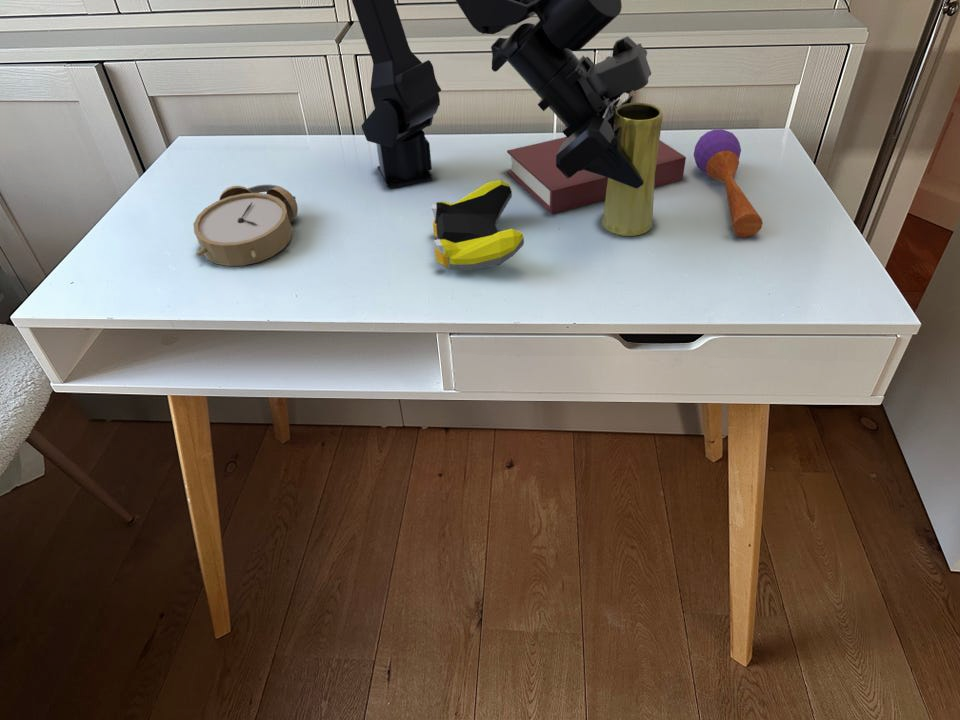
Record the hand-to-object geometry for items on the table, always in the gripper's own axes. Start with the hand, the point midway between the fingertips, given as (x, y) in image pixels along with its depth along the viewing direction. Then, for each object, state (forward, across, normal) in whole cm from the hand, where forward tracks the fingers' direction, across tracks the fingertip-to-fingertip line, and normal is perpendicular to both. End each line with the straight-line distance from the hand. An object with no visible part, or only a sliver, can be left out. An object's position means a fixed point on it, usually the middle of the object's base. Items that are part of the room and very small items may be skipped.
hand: (644, 174), depth 84 cm
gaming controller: (-8, -10, +18) cm, 22 cm away
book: (-1, +12, +10) cm, 16 cm away
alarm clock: (-28, -13, +38) cm, 49 cm away
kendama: (+12, +10, -2) cm, 15 cm away
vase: (+4, 0, +6) cm, 7 cm away
